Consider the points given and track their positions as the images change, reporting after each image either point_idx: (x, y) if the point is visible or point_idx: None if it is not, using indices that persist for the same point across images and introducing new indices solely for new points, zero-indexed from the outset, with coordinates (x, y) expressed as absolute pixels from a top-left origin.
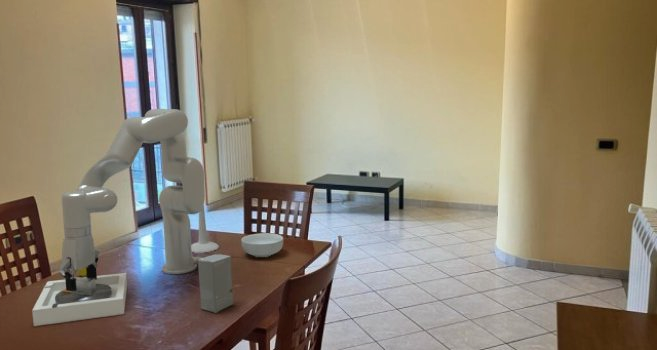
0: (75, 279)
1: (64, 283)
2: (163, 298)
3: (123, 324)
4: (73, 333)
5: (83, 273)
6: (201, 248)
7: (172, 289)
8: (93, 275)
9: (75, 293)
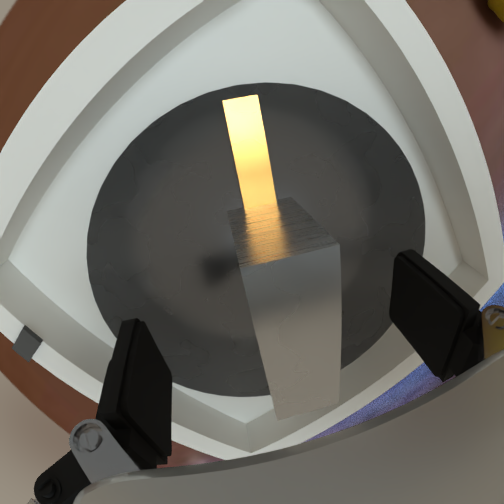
0: (163, 454)
1: (359, 9)
2: (371, 411)
3: (187, 447)
4: (69, 395)
5: (499, 11)
6: None
7: (429, 381)
8: (409, 329)
9: (234, 249)
